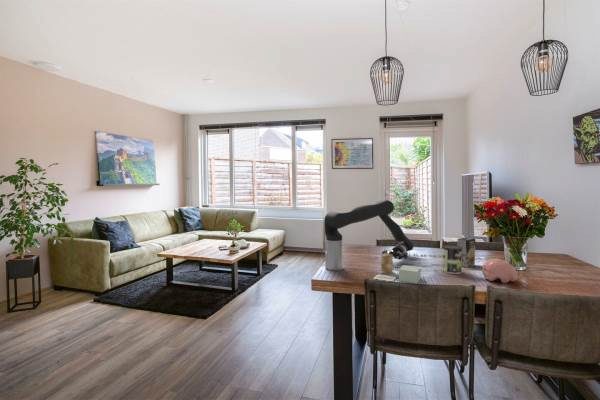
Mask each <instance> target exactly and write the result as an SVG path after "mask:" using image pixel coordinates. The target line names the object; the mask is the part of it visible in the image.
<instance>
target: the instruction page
mask: <svg viewBox="0 0 600 400" xmlns="http://www.w3.org/2000/svg"><path fill="white" fill-rule="evenodd" d="M396 278H397V276H392V275H391V276H390V275H383V274H376V275H375V276H374V277H373V278H372V279H373V280H376V279H378V281H383V280H385V282H389V281H393V282H394V281H395V280H396Z"/></svg>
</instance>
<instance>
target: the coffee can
mask: <svg viewBox="0 0 600 400" xmlns="http://www.w3.org/2000/svg"><path fill="white" fill-rule="evenodd" d="M461 265H462V247H460V246H457V245H455V244H452V245H451V244H445V245H441V272H443V271H444V272H443V273H445V272H446V273H445V274H449V273H450V274H452V275H460V274H462V266H461ZM450 274H449V275H450Z"/></svg>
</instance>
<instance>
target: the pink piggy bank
mask: <svg viewBox="0 0 600 400" xmlns="http://www.w3.org/2000/svg"><path fill="white" fill-rule="evenodd" d="M481 272H482V275H483V277H484V278H485V279H486V280H489V281H490V282H494V281H495V280H500V282H501V283H502V284H507V283H509V282H515V281H517V280H518V272H517V269H516V268H515V267H514V266H513V265H512V264H511V263H509V262H508V261H507V260H503V259H500V258H490V259H489V260H487V261H485V262H484V264H483V265H482V271H481Z"/></svg>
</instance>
